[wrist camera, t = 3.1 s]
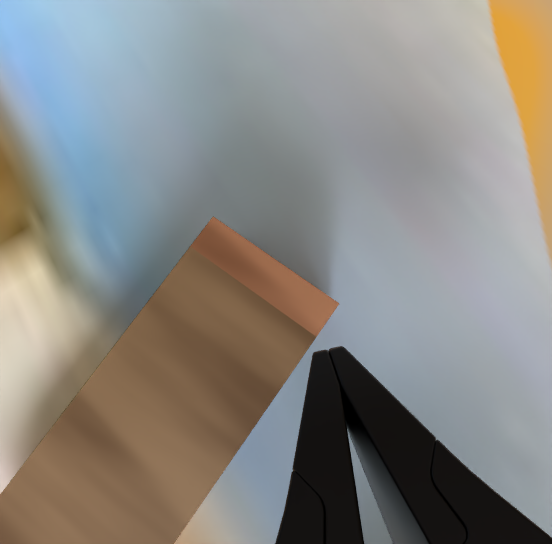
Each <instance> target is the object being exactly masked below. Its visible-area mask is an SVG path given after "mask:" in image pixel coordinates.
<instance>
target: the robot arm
mask: <svg viewBox="0 0 552 544" xmlns="http://www.w3.org/2000/svg"><path fill="white" fill-rule="evenodd" d="M347 429H348V432H349V434H350V437H351V440H352V442H353V445H354V447H355V450H356V452H357V455H358V457H359V460H360V462H361V465H362V467H363V470H364V472H365V475H366V477H367V479H368V482H369V484H370V487H371V489H372V492H373V494H374V497H375V499H376V502H377V504H378V507H379V509H380V512H381V514H382V517H383V519H384V522H385V524H386V527H387V529H388V532H389V534H390V537H391V539H392V542H393V544H552V537H550V536H549V535H548V534H547V533H545V532H544V531H543V530H542V529H541V528H539V527H538V526H537V525H536V524H534V523H533V522H532V521H531V520H530V519H528V518H527V517H526V516H525V515H523V514H522V513H521V512H520V511H518V510H517V509H516V508H515V507H514V506H512V505H511V504H510V503H509V502H507V501H506V500H505V499H504V498H502V497H501V496H500V495H499V494H498V493H496V492H495V491H494V490H493V489H492V488H490V487H489V486H488V485H487V484H486V483H484V482H483V481H482V480H481V479H480V478H479V477H477V476H476V475H475V474H474V473H473V472H471V471H470V470H469V469H468V468H467V467H466V466H465V465H464V464H463V463H462V462H461V461H460V460H459V459H458V458H456V457H455V456H454V455H453V454H452V453H451V452H450V451H449V450H448V449H447V448H446V447H445V446H444V445H443V444H442V443H441V442H440V441H439V440H436V437H435V436H434V435H433V434H432V433H431V432H430V431H429V430H428V429H427V428H426V427H425V426H424V425H423V424H422V423H421V422H420V421H418V420H417V419H416V418H415V417H414V416H413V415H412V414H411V413H410V412H409V411H408V410H407V409H406V408H405V407H404V406H403V405H402V404H401V403H400V402H399V401H398V400H397V399H396V398H395V397H394V396H393V395H392V394H391V393H390V392H389V391H388V390H387V389H386V388H385V387H384V386H383V385H382V384H381V383H380V382H379V381H378V380H377V379H376V378H375V377H374V376H373V375H372V374H371V373H370V372H369V371H368V370H367V369H366V368H365V367H364V366H363V365H362V364H361V363H360V362H359V361H358V360H357V359H356V358H355V357H354V356H353V355H352V354H351V353H350V352H349V351H348V350H346V349H345V348H344V347H342V346H340V347H335V348H331V349H329V351H328V350H322V351H317V352H314V353H313V356H312V361H311V367H310V373H309V378H308V384H307V390H306V395H305V401H304V407H303V413H302V418H301V424H300V430H299V435H298V441H297V447H296V452H295V458H294V464H293V471H292V474H291V480H290V485H289V490H288V495H287V500H286V505H285V509H284V514H283V517H282V521H281V525H280V528H279V532H278V536H277V539H276V543H275V544H364V540H363V533H362V526H361V520H360V513H359V506H358V500H357V493H356V486H355V479H354V473H353V466H352V459H351V452H350V446H349V439H348V432H347Z"/></svg>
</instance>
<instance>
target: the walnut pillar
mask: <svg viewBox="0 0 552 544" xmlns="http://www.w3.org/2000/svg"><path fill="white" fill-rule="evenodd" d="M338 305H339V303H338V302H336V301H335V300H334V299H332V298H331V297H329V296H328V295H326V294H325V293H323V292H322V291H321V290H319V289H318V288H316V287H315V286H313V285H312V284H310V283H309V282H307V281H306V280H305V279H303V278H302V277H300V276H299V275H297V274H296V273H294V272H293V271H292V270H290V269H289V268H287V267H286V266H284V265H283V264H281V263H280V262H278V261H277V260H276V259H274V258H273V257H271V256H270V255H268V254H267V253H265V252H264V251H263V250H261V249H260V248H258V247H257V246H255V245H254V244H252V243H251V242H249V241H248V240H247V239H245V238H244V237H242V236H241V235H239V234H238V233H236V232H235V231H234V230H232V229H231V228H229V227H228V226H226V225H225V224H223V223H222V222H220V221H219V220H218V219H216V218H215V217H212V218H211V220H210V221H209V222H208V224H207V225H206V226H205V228H204V229H203V230H202V232H201V233H200V234H199V235H198V237H197V238H196V239H195V241H194V242H193V243H192V245H191V246H190V247H189V249H188V250H187V251H186V252H185V254H184V255H183V256H182V258H181V259H180V260H179V262H178V263H177V264H176V266H175V267H174V268H173V269H172V271H171V272H170V273H169V275H168V276H167V277H166V279H165V280H164V281H163V283H162V284H161V285H160V286H159V288H158V289H157V290H156V292H155V293H154V294H153V296H152V297H151V298H150V300H149V301H148V302H147V303H146V305H145V306H144V307H143V309H142V310H141V311H140V313H139V314H138V315H137V317H136V318H135V319H134V320H133V322H132V323H131V324H130V326H129V327H128V328H127V330H126V331H125V332H124V334H123V335H122V336H121V337H120V339H119V340H118V341H117V343H116V344H115V345H114V347H113V348H112V349H111V351H110V352H109V353H108V354H107V356H106V357H105V358H104V360H103V361H102V362H101V364H100V365H99V366H98V368H97V369H96V370H95V371H94V373H93V374H92V375H91V377H90V378H89V379H88V381H87V382H86V383H85V385H84V386H83V387H82V388H81V390H80V391H79V392H78V394H77V395H76V396H75V398H74V399H73V400H72V402H71V403H70V404H69V405H68V407H67V408H66V409H65V411H64V412H63V413H62V415H61V416H60V417H59V419H58V420H57V421H56V422H55V424H54V425H53V426H52V428H51V429H50V430H49V432H48V433H47V434H46V436H45V437H44V438H43V439H42V441H41V442H40V443H39V445H38V446H37V447H36V449H35V450H34V451H33V453H32V454H31V455H30V456H29V458H28V459H27V460H26V462H25V463H24V464H23V466H22V467H21V468H20V470H19V471H18V472H17V473H16V475H15V476H14V477H13V479H12V480H11V481H10V483H9V484H8V485H7V487H6V488H5V489H4V490H3V492H2V493H1V494H0V544H174V543H175V541H176V540H177V538H178V537H179V535H180V534H181V532H182V531H183V529H184V528H185V527H186V525H187V524H188V522H189V521H190V519H191V518H192V516H193V515H194V514H195V512H196V511H197V509H198V508H199V506H200V505H201V503H202V502H203V500H204V499H205V498H206V496H207V495H208V493H209V492H210V490H211V489H212V487H213V486H214V485H215V483H216V482H217V480H218V479H219V477H220V476H221V474H222V473H223V471H224V470H225V469H226V467H227V466H228V464H229V463H230V461H231V460H232V458H233V457H234V456H235V454H236V453H237V451H238V450H239V448H240V447H241V445H242V444H243V442H244V441H245V440H246V438H247V437H248V435H249V434H250V432H251V431H252V429H253V428H254V427H255V425H256V424H257V422H258V421H259V419H260V418H261V416H262V415H263V413H264V412H265V411H266V409H267V408H268V406H269V405H270V403H271V402H272V400H273V399H274V398H275V396H276V395H277V393H278V392H279V390H280V389H281V387H282V386H283V384H284V383H285V382H286V380H287V379H288V377H289V376H290V374H291V373H292V371H293V370H294V369H295V367H296V366H297V364H298V363H299V361H300V360H301V358H302V357H303V355H304V354H305V353H306V351H307V350H308V348H309V347H310V345H311V344H312V342H313V341H314V340H315V338H316V337H317V335H318V334H319V332H320V331H321V329H322V328H323V327H324V325H325V324H326V322H327V321H328V319H329V318H330V316H331V315H332V313H333V312H334V311H335V309H336V308H337V306H338Z"/></svg>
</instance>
